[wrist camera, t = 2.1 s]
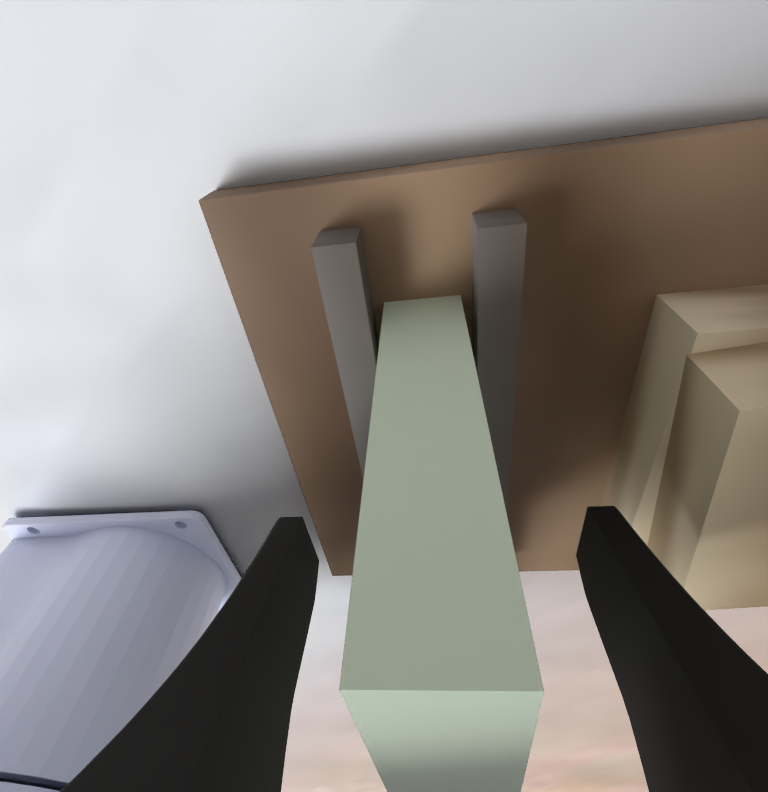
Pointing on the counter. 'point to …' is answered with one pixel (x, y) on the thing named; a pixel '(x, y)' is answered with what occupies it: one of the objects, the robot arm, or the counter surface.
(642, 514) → the offcut lower
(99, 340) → the counter surface
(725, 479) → the offcut upper
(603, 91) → the counter surface
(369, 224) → the rack
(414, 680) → the sage green block
